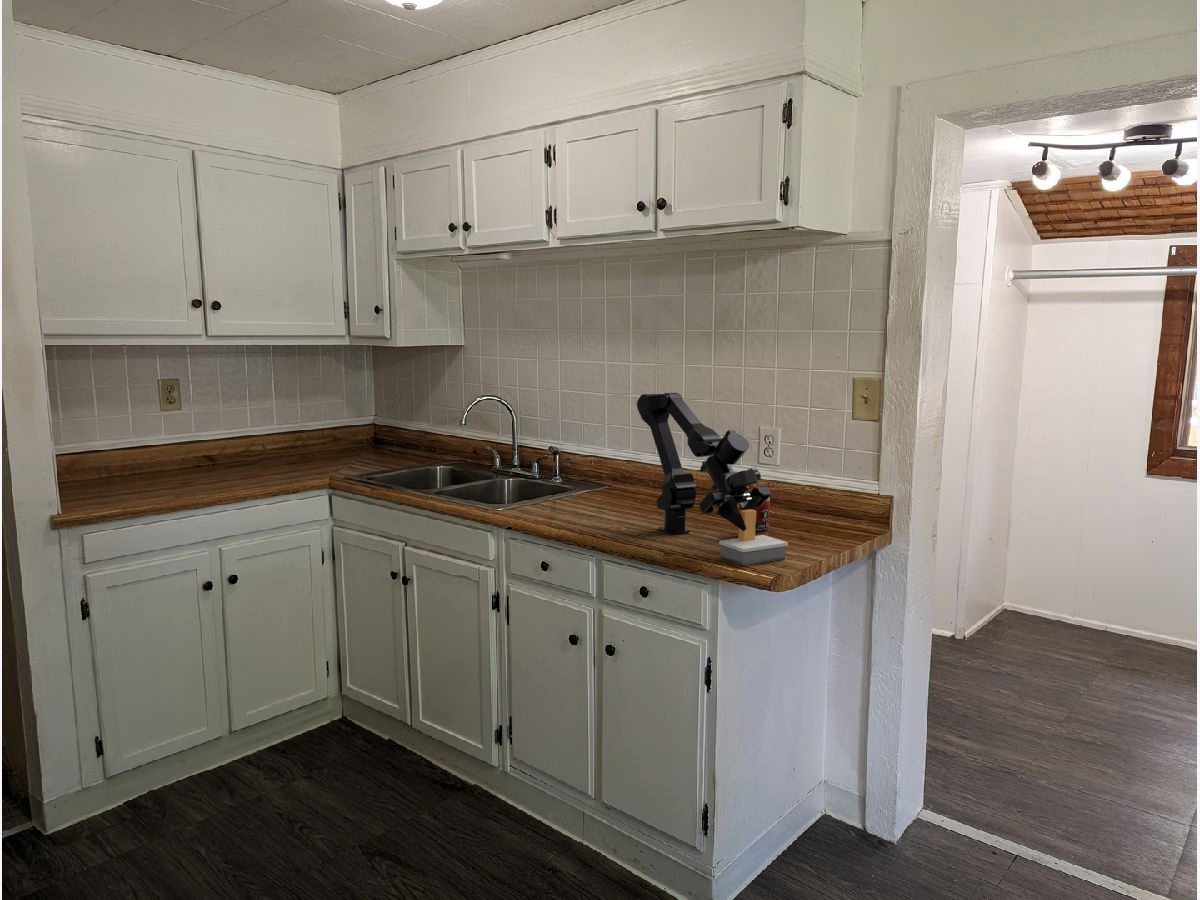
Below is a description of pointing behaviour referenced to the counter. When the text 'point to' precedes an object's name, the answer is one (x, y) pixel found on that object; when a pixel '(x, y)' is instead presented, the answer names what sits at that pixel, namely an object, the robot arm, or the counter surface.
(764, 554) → the tub
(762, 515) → the canned food
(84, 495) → the counter surface
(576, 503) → the counter surface
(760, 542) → the lid
